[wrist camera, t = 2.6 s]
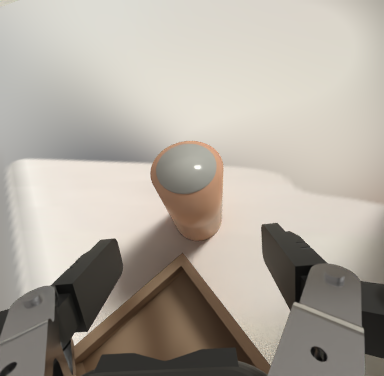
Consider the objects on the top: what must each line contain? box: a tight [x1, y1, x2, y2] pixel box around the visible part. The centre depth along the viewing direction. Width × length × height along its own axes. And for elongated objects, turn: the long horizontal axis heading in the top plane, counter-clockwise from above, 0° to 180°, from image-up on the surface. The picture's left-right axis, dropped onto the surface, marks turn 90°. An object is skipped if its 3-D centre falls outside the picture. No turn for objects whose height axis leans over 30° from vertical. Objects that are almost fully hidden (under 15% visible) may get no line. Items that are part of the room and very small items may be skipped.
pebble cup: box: [151, 141, 223, 241], centre depth 19 cm, size 6×6×10 cm
